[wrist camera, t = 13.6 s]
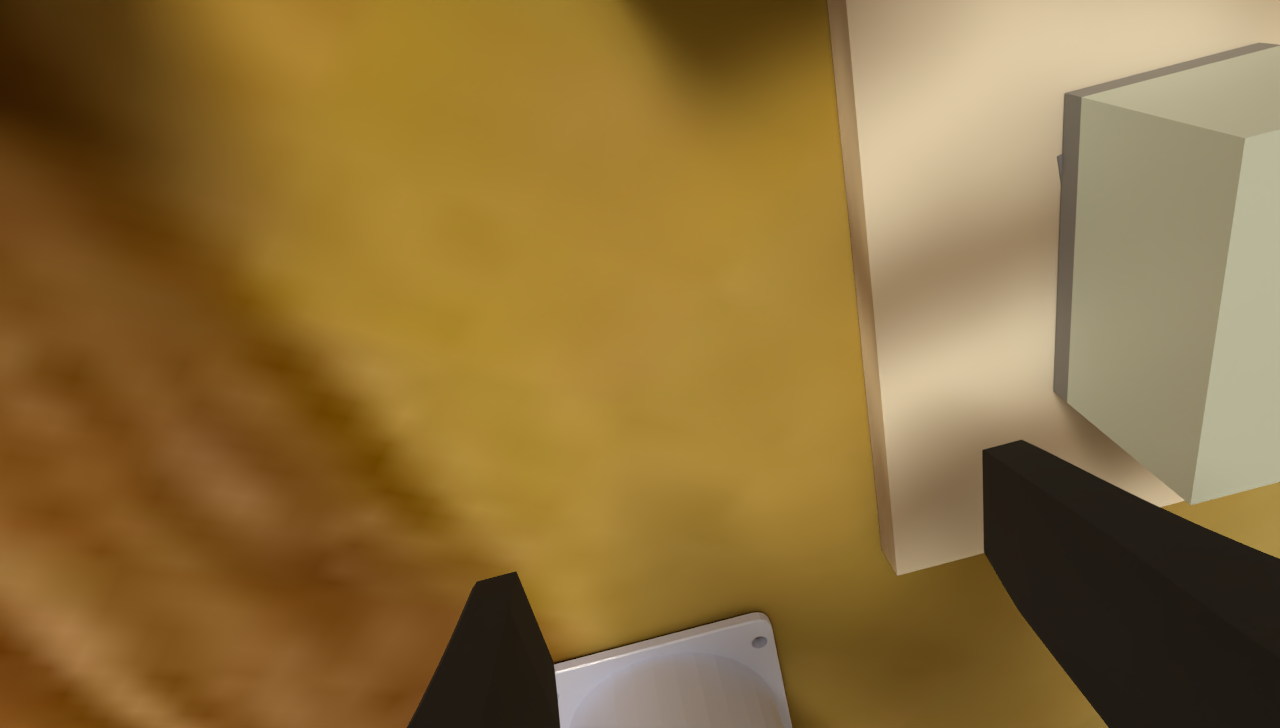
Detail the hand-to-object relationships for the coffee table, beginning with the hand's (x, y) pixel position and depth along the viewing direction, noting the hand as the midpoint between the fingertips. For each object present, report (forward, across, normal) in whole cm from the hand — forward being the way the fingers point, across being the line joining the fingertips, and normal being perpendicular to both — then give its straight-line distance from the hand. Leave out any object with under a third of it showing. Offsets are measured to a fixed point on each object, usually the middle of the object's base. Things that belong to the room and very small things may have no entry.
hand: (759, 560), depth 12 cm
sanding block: (+8, -12, +1) cm, 14 cm away
